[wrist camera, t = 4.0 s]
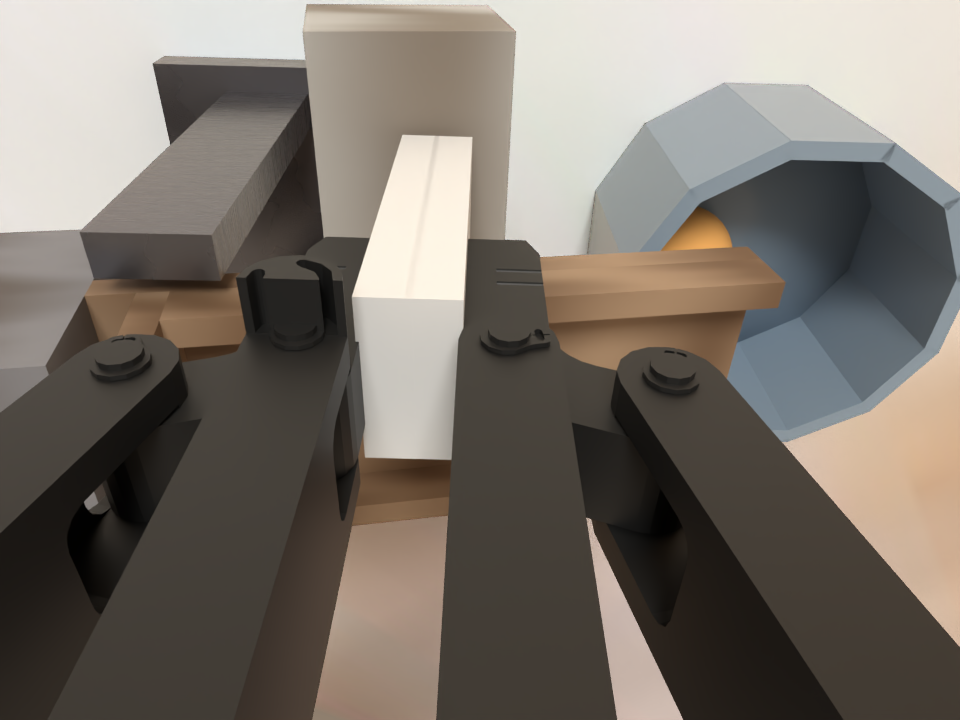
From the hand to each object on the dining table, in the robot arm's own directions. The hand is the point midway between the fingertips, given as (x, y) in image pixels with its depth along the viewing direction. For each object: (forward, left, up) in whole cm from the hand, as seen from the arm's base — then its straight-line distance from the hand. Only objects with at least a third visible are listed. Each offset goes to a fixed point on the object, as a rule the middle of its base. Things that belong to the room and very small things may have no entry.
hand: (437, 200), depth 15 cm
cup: (+12, -7, -15) cm, 20 cm away
